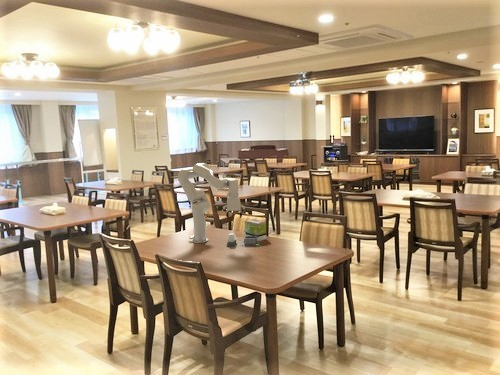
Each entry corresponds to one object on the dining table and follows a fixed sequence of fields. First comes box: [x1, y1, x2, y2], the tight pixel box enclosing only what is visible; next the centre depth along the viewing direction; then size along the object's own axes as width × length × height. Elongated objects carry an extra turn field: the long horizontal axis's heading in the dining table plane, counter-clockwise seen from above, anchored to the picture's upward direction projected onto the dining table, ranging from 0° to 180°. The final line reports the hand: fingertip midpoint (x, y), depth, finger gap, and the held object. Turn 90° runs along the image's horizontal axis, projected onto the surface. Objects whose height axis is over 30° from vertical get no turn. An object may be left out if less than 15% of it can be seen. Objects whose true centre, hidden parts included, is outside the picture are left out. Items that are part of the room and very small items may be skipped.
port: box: [240, 235, 261, 248], centre depth 336 cm, size 14×12×6 cm
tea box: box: [244, 218, 267, 242], centre depth 353 cm, size 15×10×15 cm, turn 43°
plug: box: [228, 232, 236, 242], centre depth 334 cm, size 4×4×9 cm
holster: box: [225, 239, 238, 248], centre depth 335 cm, size 8×9×4 cm
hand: (234, 217), depth 334 cm, fingers open, 9 cm apart
